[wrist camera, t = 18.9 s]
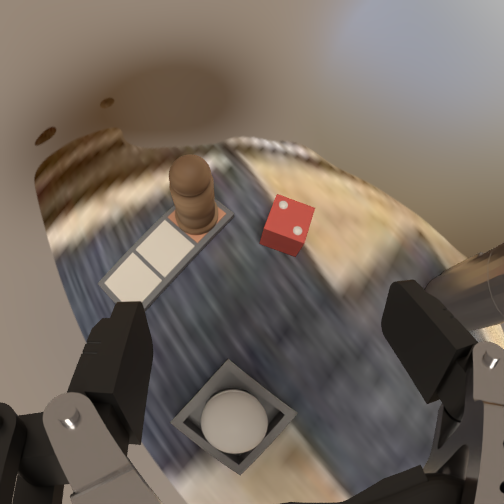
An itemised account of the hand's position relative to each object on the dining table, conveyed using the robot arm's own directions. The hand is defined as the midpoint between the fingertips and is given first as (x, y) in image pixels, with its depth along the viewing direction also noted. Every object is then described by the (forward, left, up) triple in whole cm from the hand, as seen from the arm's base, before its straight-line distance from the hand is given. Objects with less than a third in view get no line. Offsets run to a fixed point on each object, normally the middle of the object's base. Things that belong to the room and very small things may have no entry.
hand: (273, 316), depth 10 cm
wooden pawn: (-9, -15, -27) cm, 33 cm away
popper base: (+7, +5, -29) cm, 30 cm away
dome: (+7, +5, -28) cm, 29 cm away
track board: (-3, -15, -29) cm, 32 cm away
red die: (-15, -5, -29) cm, 33 cm away
